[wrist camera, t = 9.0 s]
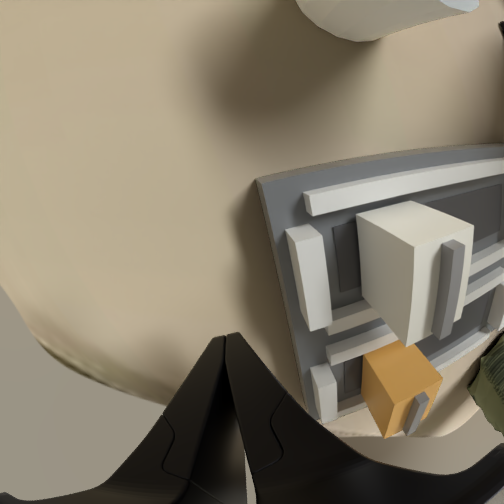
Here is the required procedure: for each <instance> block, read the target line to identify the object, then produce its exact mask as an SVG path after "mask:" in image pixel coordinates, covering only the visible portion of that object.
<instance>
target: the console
mask: <svg viewBox="0 0 504 504" xmlns="http://www.w3.org/2000/svg"><path fill="white" fill-rule="evenodd" d="M255 180H256V184H257V188H258V192H259V196H260V201H261V205H262V209H263V213H264V217H265V222H266V226H267V230H268V235H269V239H270V243H271V248H272V252H273V256H274V261H275V265H276V270H277V274H278V279H279V283H280V288H281V292H282V297H283V301H284V306H285V311H286V315H287V320H288V325H289V330H290V334H291V339H292V344H293V349H294V354H295V358H296V363H297V368H298V373H299V378H300V383H301V388H302V393H303V399H304V403H305V406H306V409H307V412H308V414H309V415H310V416H311V417H312V418H314V419H315V420H318V419H320V420H321V422H322V424H324V423H327V422H330V421H333V420H336V419H338V418H339V417H342V416H345V415H347V414H350V413H353V412H355V411H358V410H361V409H363V408H366V407H368V406H367V404H366V403H365V401H364V399H363V397H362V395H361V384H362V368H363V354H366V353H368V352H371V351H373V350H376V349H378V348H381V347H383V346H385V345H388V344H390V343H392V342H395V341H397V340H399V338H398V337H397V336H396V335H395V334H394V332H393V331H392V330H391V329H390V328H389V326H388V325H387V324H386V323H385V322H384V321H383V319H382V318H381V317H380V316H379V315H378V314H377V312H376V311H375V310H374V309H373V308H372V307H371V305H370V304H369V303H368V302H367V301H366V300H365V299H364V297H363V296H362V285H361V267H360V253H359V241H358V230H357V221H356V214H358V213H362V212H366V211H370V210H374V209H378V208H382V207H386V206H390V205H394V204H398V203H402V202H407V201H414V202H416V203H419V204H422V205H425V206H427V207H430V208H433V209H435V210H438V211H440V212H443V213H446V214H448V215H451V216H453V217H455V218H458V219H460V220H463V221H465V222H467V223H470V224H472V225H474V234H473V246H472V256H471V264H470V272H469V278H468V285H467V290H466V296H465V301H464V305H463V310H462V314H461V318H460V319H459V320H457V321H455V322H453V326H452V330H451V334H450V335H448V336H446V337H444V338H443V339H441V340H439V339H438V338H437V337H436V336H435V335H434V334H432V335H430V336H428V337H426V338H424V339H422V340H420V341H418V342H416V343H414V344H415V345H416V346H417V348H418V349H419V350H420V351H421V352H422V353H423V355H424V356H425V357H426V358H427V359H428V361H429V362H430V363H431V364H432V365H433V367H434V368H435V369H436V370H437V372H439V371H440V370H442V369H444V368H445V367H447V366H449V365H450V364H452V363H453V362H455V361H457V360H458V359H460V358H461V357H463V356H464V355H466V354H467V353H469V352H470V351H472V350H473V349H474V348H476V347H477V346H479V345H480V344H481V343H483V342H484V341H485V340H487V339H488V338H489V335H490V332H492V331H493V330H494V329H496V330H497V331H499V330H501V329H502V328H503V327H504V143H492V144H471V145H456V146H443V147H433V148H423V149H414V150H406V151H398V152H391V153H383V154H377V155H370V156H364V157H358V158H352V159H346V160H340V161H335V162H329V163H324V164H319V165H314V166H309V167H304V168H299V169H295V170H290V171H285V172H281V173H277V174H272V175H268V176H264V177H260V178H255Z"/></svg>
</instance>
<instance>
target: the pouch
mask: <svg viewBox="0 0 504 504" xmlns="http://www.w3.org/2000/svg"><path fill="white" fill-rule="evenodd" d="M467 389H468V391H469V392H470V394H471V396H472V397H473V399H474V401H475V403H476V405H478V406H479V407H480V408H481V409H482V410H483V413H484V415H485V417H486V419H487V421H488V422H489V423H491V424H492V426H493V427H494V429H495V430H497V431H499V432H502V434H503V436H504V334H503V335H502V336H501V338H500V340H499V341H498V343H497V344H496V345H495V346H494V348H493V349H492V350H491V351H490V352H489V353H488V354H487V355H486V356H484V357H481V366H480V371H479V373H478V375H477V377H476V379H475V381H474V382H473V383H472V384H470V385H469V386H468V387H467Z"/></svg>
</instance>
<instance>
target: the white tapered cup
mask: <svg viewBox="0 0 504 504" xmlns="http://www.w3.org/2000/svg"><path fill="white" fill-rule="evenodd" d="M295 1H296V2H297V4H298V6H299V8H300V9H301V11H302V13H304V14H305V15H306V16H307V17H308V18H309V19H310V20H311V21H312V22H314V23H315V24H316V25H317V26H318V27H320V28H322V29H324V30H326V31H327V32H329V33H331V34H333V35H335V36H336V37H340V38H344V39H347V40H351V41H355V42H363V41H374V40H376V39H379V38H381V37H384V36H387V35H389V34H392V33H395V32H398V31H401V30H404V29H407V28H410V27H413V26H416V25H420V24H423V23H426V22H430V21H434V20H438V19H442V18H446V17H450V16H454V15H459V14H464V13H469V12H471V11H473V10H474V9H476V8H477V7H479V0H295Z"/></svg>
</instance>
